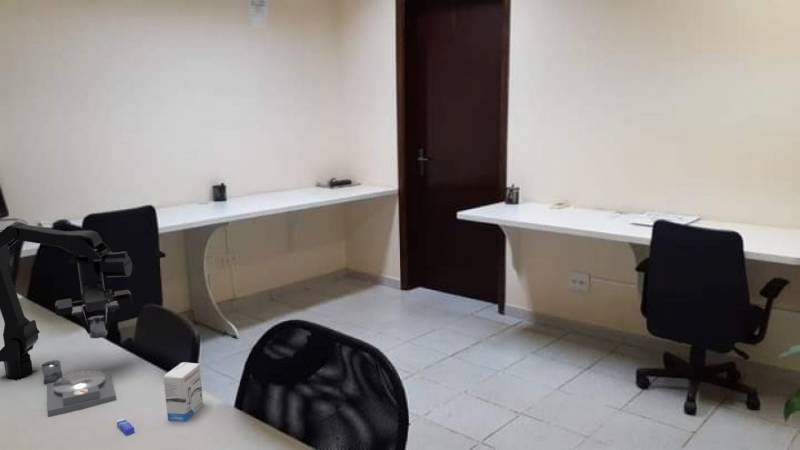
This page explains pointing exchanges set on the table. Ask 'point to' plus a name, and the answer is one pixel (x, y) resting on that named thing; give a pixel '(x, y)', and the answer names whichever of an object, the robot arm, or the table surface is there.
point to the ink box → (183, 391)
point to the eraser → (125, 426)
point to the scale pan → (78, 381)
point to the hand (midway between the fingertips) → (98, 331)
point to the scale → (80, 397)
